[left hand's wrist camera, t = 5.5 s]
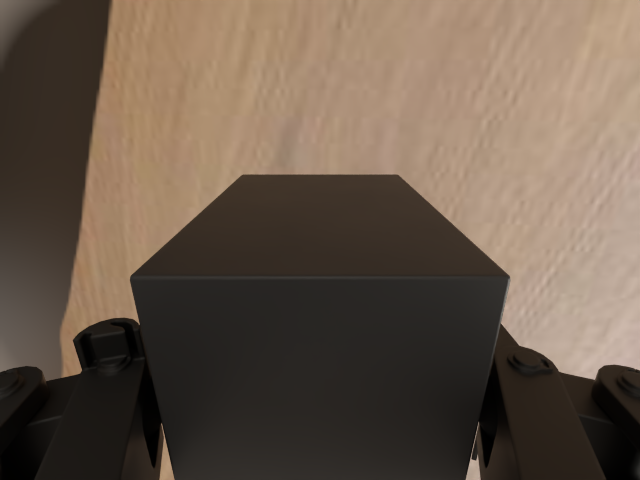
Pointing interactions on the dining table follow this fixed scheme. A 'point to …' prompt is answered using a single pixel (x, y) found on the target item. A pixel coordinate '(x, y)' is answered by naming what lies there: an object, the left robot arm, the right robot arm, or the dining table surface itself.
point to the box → (320, 333)
